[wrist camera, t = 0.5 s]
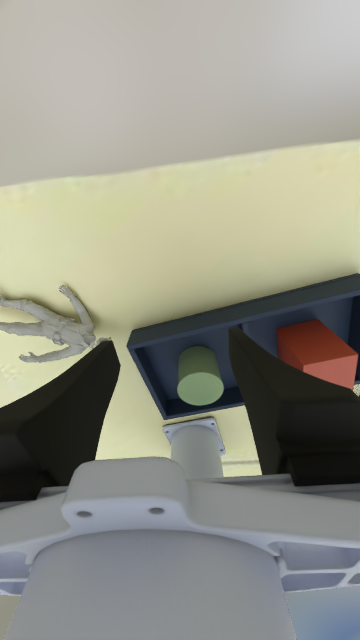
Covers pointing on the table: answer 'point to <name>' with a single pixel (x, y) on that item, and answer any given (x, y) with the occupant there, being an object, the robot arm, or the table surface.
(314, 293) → the tray
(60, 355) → the soldier figure
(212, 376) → the pale green cylinder
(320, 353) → the red block
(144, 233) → the table surface
